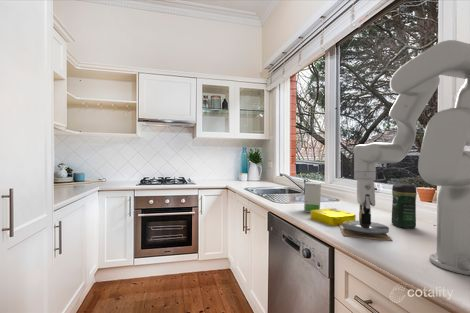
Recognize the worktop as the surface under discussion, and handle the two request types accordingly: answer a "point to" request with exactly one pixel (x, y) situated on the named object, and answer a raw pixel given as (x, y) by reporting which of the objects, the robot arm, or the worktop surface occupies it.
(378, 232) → the lid
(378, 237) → the mat
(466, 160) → the robot arm
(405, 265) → the worktop surface
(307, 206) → the skincare box
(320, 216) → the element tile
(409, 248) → the worktop surface
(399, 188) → the coffee jar
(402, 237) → the worktop surface
